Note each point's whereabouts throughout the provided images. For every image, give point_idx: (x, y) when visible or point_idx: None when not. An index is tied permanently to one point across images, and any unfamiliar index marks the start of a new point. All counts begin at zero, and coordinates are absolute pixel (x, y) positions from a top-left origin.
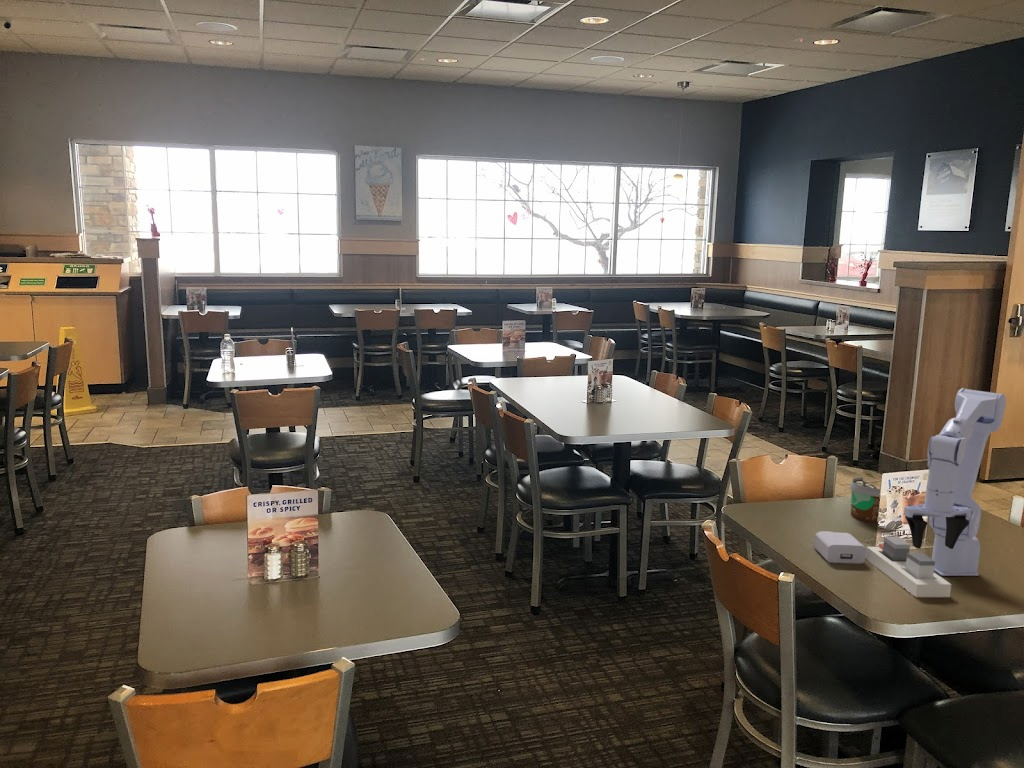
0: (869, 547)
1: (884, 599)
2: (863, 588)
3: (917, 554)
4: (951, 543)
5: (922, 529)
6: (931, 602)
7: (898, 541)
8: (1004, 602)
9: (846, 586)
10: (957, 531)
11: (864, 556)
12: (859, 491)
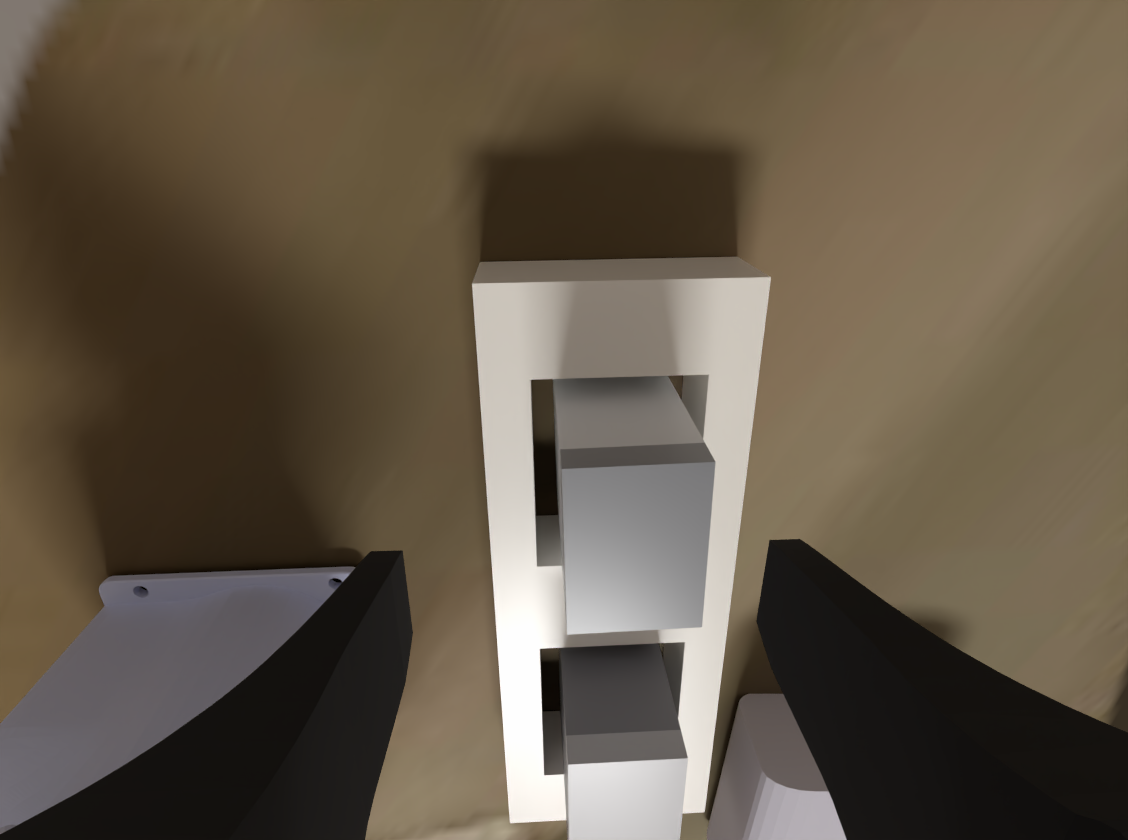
0: (694, 803)
1: (983, 219)
2: (992, 386)
3: (634, 600)
4: (386, 593)
5: (988, 709)
6: (670, 170)
7: (626, 804)
8: (80, 173)
9: (1078, 411)
10: (285, 716)
11: (753, 728)
12: None
